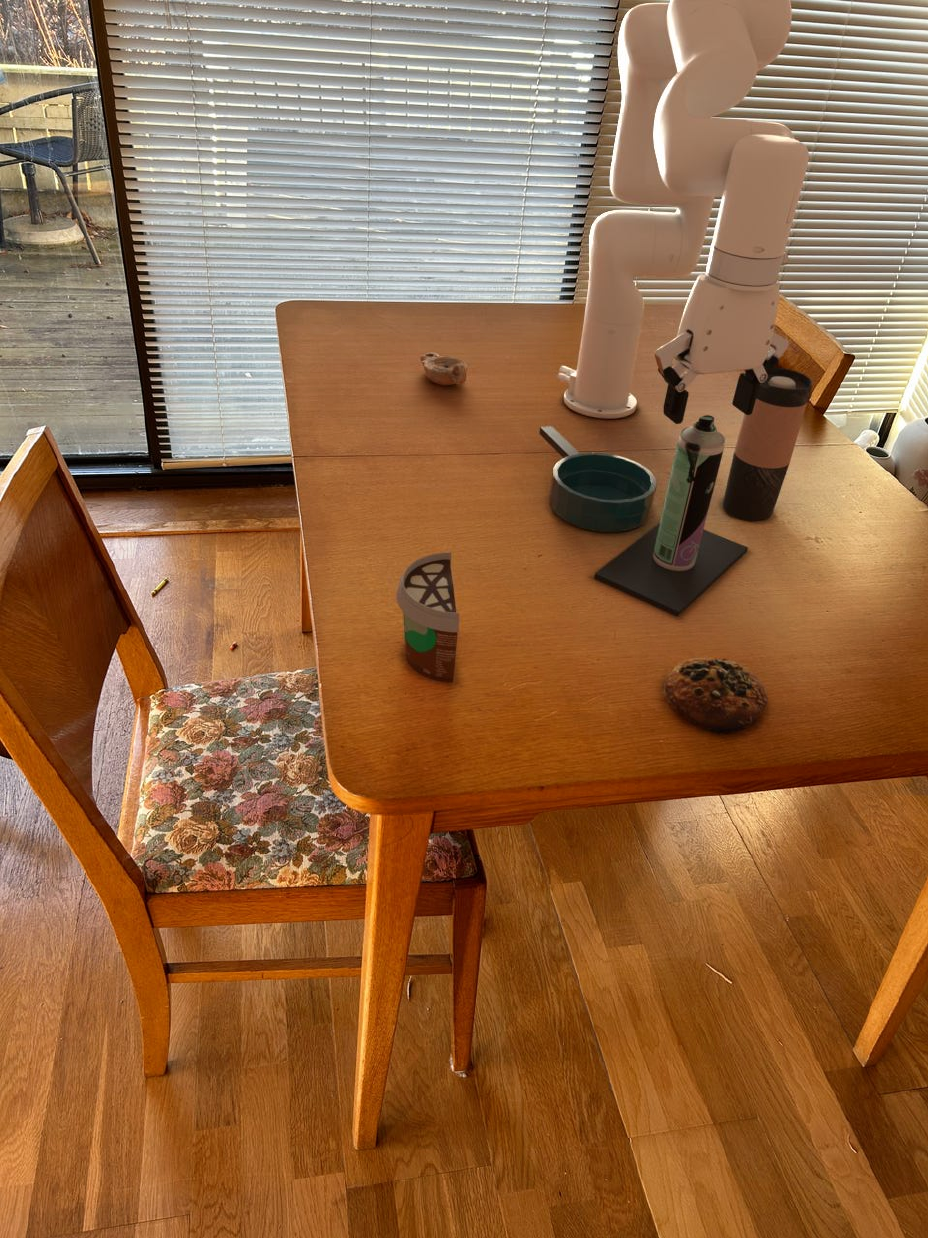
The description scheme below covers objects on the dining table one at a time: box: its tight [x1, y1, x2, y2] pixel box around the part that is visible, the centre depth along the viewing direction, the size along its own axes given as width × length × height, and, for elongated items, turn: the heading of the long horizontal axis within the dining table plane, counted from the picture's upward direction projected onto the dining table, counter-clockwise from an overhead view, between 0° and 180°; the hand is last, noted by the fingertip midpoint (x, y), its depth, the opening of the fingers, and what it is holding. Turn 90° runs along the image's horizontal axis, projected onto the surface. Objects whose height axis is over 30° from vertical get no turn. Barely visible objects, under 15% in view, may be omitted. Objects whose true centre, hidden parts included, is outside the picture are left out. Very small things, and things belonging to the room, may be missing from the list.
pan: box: [548, 452, 658, 533], centre depth 131 cm, size 14×14×5 cm
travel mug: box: [722, 367, 813, 523], centre depth 129 cm, size 8×8×20 cm
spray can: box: [653, 414, 726, 571], centre depth 116 cm, size 6×6×20 cm
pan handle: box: [538, 425, 581, 459], centre depth 140 cm, size 12×2×1 cm, turn 22°
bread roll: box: [662, 657, 769, 735], centre depth 100 cm, size 11×11×5 cm
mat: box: [593, 522, 749, 618], centre depth 122 cm, size 12×20×1 cm, turn 142°
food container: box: [395, 552, 460, 683], centre depth 101 cm, size 12×6×10 cm, turn 5°
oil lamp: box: [419, 352, 468, 386], centre depth 164 cm, size 13×8×5 cm, turn 27°
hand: (707, 414), depth 110 cm, fingers open, 9 cm apart
